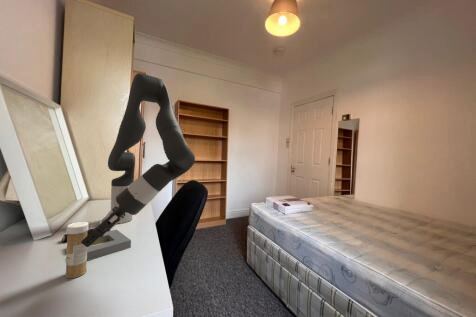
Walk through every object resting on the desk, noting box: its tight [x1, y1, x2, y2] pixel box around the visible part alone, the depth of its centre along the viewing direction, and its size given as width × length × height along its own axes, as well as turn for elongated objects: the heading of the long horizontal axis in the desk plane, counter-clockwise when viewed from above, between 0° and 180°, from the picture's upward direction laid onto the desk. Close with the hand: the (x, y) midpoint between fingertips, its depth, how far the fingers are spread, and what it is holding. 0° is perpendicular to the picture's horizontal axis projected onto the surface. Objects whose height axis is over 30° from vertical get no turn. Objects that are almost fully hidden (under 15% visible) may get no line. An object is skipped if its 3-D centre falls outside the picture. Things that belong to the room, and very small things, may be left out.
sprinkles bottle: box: [64, 221, 89, 279], centre depth 53 cm, size 5×5×13 cm
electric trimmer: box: [61, 227, 112, 244], centre depth 77 cm, size 4×16×3 cm, turn 138°
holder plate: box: [86, 229, 132, 262], centre depth 68 cm, size 14×14×2 cm
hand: (90, 237), depth 54 cm, fingers open, 8 cm apart
